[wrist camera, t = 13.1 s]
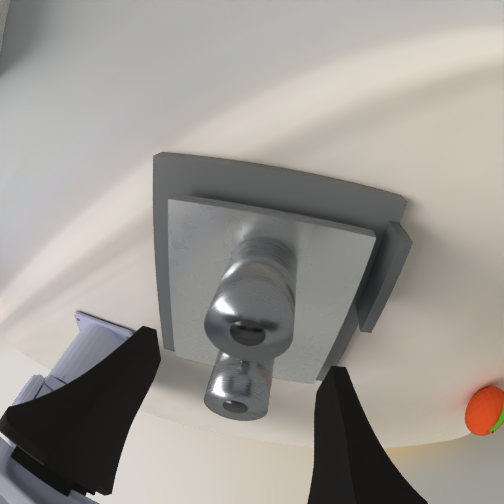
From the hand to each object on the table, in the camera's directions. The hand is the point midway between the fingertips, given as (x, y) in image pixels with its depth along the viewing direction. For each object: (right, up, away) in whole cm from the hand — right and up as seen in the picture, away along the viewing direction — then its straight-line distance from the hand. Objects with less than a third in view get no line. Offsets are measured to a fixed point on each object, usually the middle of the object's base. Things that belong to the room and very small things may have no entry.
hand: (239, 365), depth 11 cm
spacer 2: (0, -2, +10) cm, 10 cm away
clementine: (+32, -14, +15) cm, 38 cm away
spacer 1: (+1, +4, +6) cm, 7 cm away
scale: (+1, +2, +11) cm, 11 cm away
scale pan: (+1, +1, +9) cm, 10 cm away
